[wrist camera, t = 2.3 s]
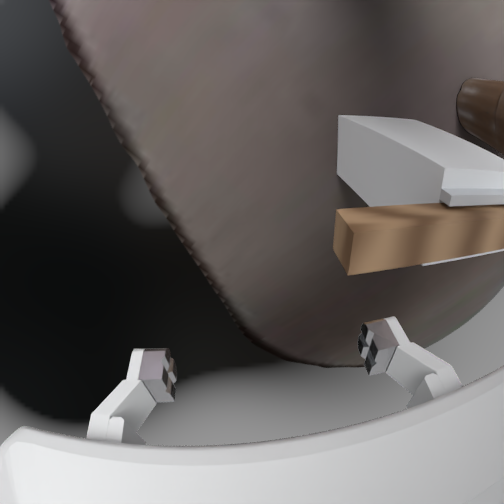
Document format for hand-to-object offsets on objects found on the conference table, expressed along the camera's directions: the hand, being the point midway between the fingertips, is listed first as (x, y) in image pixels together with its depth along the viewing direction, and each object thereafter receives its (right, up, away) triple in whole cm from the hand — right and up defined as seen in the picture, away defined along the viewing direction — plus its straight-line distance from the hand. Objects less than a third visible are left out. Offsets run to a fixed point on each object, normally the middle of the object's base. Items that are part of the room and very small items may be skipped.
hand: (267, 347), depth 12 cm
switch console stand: (+20, +22, +33) cm, 45 cm away
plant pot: (+43, +32, +29) cm, 61 cm away
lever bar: (+18, +7, +11) cm, 22 cm away
